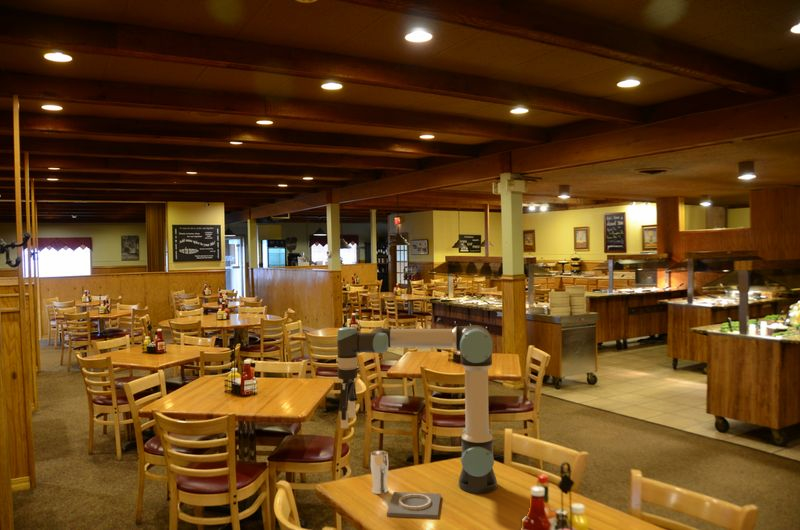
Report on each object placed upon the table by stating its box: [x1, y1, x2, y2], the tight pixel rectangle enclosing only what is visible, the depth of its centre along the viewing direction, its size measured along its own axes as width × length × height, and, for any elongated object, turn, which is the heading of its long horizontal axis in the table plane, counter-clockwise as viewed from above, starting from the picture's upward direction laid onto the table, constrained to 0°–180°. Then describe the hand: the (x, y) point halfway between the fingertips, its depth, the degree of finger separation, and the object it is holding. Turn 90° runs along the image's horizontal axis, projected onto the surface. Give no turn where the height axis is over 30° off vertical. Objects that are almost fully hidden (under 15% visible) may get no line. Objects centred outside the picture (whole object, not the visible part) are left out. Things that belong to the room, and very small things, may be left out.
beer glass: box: [370, 450, 389, 495], centre depth 229 cm, size 7×7×15 cm
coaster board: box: [386, 491, 442, 519], centre depth 215 cm, size 18×18×2 cm
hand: (348, 422), depth 226 cm, fingers open, 13 cm apart
